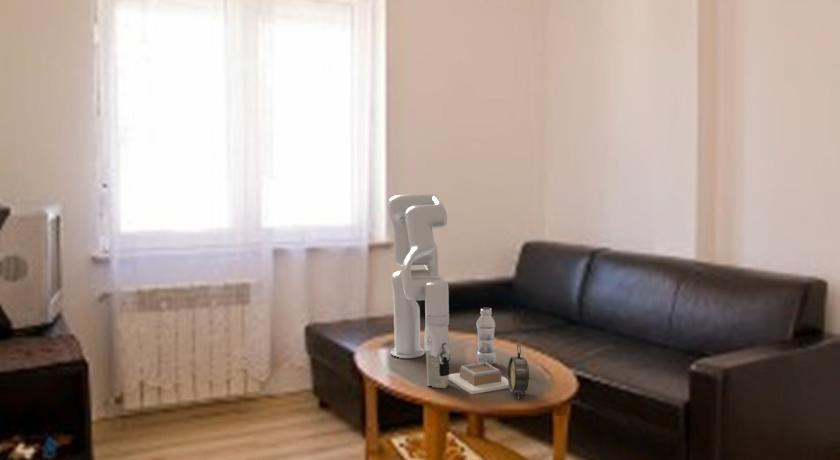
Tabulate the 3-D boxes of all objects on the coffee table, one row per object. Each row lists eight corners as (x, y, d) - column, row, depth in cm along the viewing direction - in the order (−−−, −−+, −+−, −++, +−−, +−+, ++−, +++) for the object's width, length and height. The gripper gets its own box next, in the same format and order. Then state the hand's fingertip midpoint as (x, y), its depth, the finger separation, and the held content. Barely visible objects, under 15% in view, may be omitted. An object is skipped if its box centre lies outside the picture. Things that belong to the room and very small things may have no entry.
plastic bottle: (494, 367, 261) (494, 311, 259) (475, 366, 262) (475, 310, 260) (496, 362, 267) (496, 307, 265) (477, 361, 269) (477, 306, 266)
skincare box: (449, 384, 244) (448, 347, 243) (445, 388, 240) (444, 351, 238) (430, 382, 246) (429, 346, 245) (426, 386, 242) (425, 349, 241)
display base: (446, 377, 251) (446, 363, 250) (488, 371, 257) (488, 357, 257) (471, 394, 235) (471, 379, 234) (515, 386, 241) (515, 372, 240)
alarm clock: (506, 389, 239) (507, 339, 237) (523, 388, 239) (523, 339, 237) (514, 401, 228) (514, 349, 226) (531, 400, 228) (531, 348, 226)
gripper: (415, 315, 247) (416, 366, 249) (438, 326, 231) (438, 380, 233) (436, 312, 250) (437, 363, 252) (459, 323, 234) (460, 377, 236)
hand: (437, 371), depth 242 cm, fingers open, 9 cm apart
